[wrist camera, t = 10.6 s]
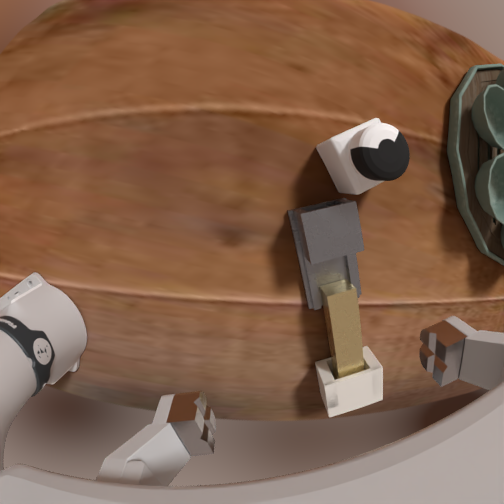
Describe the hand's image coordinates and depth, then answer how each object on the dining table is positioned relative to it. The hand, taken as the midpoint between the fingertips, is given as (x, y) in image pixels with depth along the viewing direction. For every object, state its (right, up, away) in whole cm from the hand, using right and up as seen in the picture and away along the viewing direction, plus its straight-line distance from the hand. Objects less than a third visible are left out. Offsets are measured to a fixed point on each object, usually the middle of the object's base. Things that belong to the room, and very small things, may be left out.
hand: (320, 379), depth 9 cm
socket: (+13, -15, +35) cm, 40 cm away
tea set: (+48, +21, +29) cm, 60 cm away
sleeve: (+8, +4, +31) cm, 32 cm away
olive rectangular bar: (+11, -7, +32) cm, 35 cm away
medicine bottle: (+11, +17, +28) cm, 35 cm away
